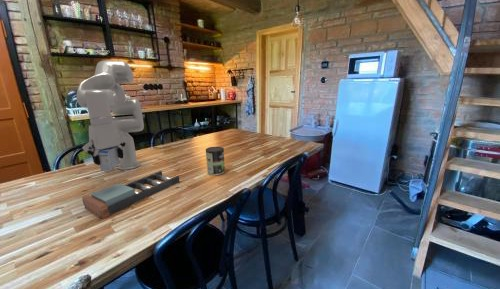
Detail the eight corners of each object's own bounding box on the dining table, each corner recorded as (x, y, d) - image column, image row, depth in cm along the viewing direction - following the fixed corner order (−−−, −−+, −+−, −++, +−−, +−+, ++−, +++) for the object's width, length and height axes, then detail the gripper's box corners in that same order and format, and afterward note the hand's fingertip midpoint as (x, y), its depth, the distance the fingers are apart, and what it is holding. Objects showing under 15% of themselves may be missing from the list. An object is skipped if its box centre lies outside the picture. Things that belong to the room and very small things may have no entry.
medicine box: (109, 164, 99) (105, 146, 96) (120, 163, 99) (116, 145, 97) (100, 171, 91) (96, 151, 89) (112, 170, 92) (108, 150, 89)
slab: (92, 200, 94) (90, 193, 93) (120, 188, 104) (119, 183, 103) (106, 207, 88) (105, 201, 87) (135, 194, 98) (134, 188, 97)
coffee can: (227, 169, 133) (226, 146, 129) (221, 175, 123) (220, 151, 119) (211, 168, 135) (209, 146, 131) (204, 174, 125) (202, 151, 121)
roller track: (84, 207, 93) (82, 197, 92) (161, 176, 124) (160, 167, 123) (103, 218, 86) (100, 207, 84) (179, 181, 117) (178, 172, 115)
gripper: (118, 117, 99) (124, 154, 103) (72, 123, 85) (82, 165, 89) (127, 118, 95) (134, 156, 99) (81, 125, 81) (91, 169, 85)
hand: (109, 160), depth 94 cm, fingers closed on medicine box, 9 cm apart
